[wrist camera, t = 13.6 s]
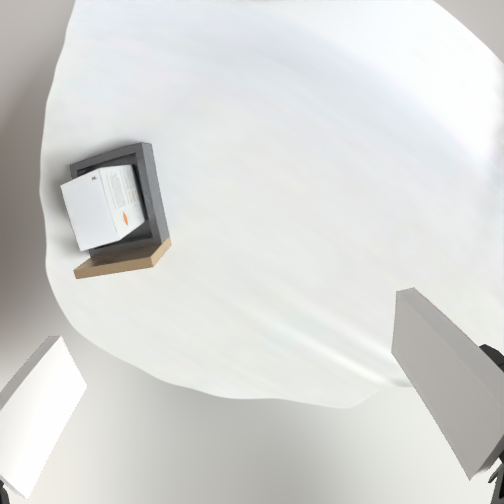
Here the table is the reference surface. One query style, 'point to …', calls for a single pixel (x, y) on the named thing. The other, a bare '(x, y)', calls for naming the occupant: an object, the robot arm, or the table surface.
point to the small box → (104, 205)
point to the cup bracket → (144, 236)
